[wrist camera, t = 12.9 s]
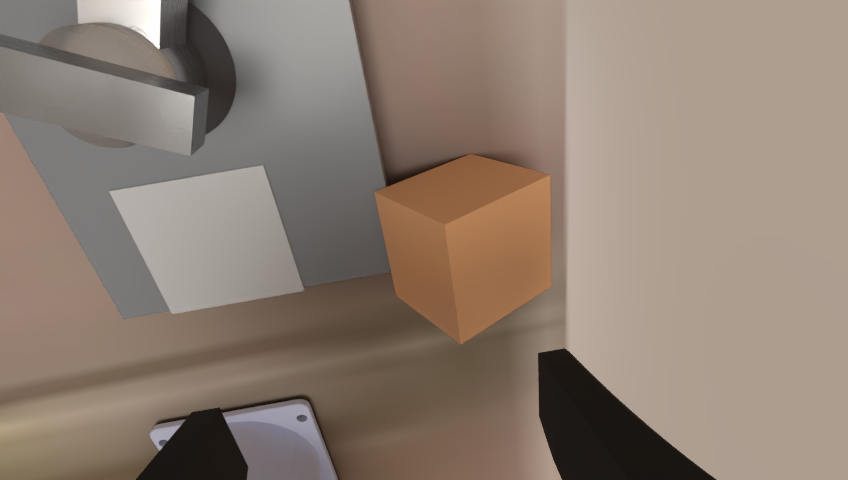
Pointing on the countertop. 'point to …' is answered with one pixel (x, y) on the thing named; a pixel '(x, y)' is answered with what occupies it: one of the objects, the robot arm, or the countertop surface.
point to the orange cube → (468, 241)
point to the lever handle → (112, 77)
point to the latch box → (229, 164)
